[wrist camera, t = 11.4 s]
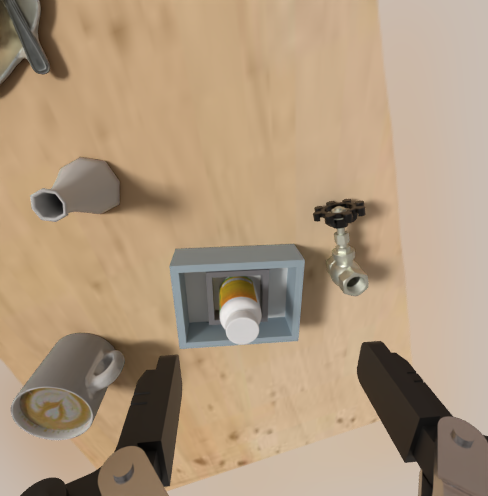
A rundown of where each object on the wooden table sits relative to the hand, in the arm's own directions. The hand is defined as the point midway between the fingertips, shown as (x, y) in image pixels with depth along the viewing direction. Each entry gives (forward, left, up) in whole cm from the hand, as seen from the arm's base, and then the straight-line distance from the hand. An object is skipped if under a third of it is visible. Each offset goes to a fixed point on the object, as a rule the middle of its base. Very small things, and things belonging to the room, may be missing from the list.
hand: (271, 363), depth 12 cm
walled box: (+12, 0, -28) cm, 31 cm away
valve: (+6, +14, -28) cm, 32 cm away
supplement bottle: (+12, 0, -27) cm, 30 cm away
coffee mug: (+24, -23, -28) cm, 44 cm away
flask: (-3, -18, -28) cm, 34 cm away
